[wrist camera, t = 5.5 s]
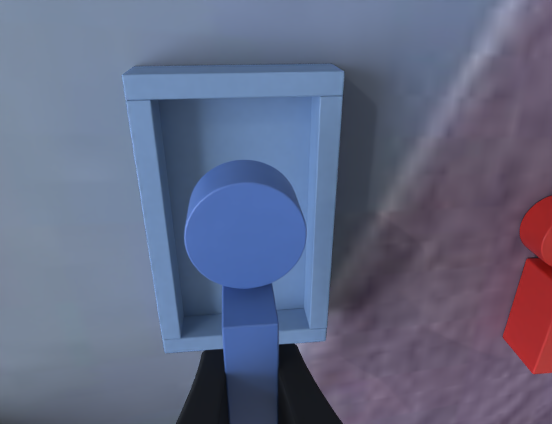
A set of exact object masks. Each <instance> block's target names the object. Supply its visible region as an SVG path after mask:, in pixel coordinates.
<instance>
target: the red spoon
mask: <svg viewBox="0 0 552 424" xmlns="http://www.w3.org/2000/svg"><path fill="white" fill-rule="evenodd" d="M520 238H521V241H522V243H523V244H524V245H525V246H526V247H527V248H528V249H529V250H531V251H532V252H533V253H534V254H535V255H537V256H538V257H539V258H528V259H526V262H525V266H524V269H523V272H522V275H521V279H520V282H519V285H518V288H517V292H516V295H515V298H514V301H513V305H512V308H511V311H510V314H509V318H508V321H507V324H506V327H505V331H504V334H503V338H504V340H505V341H506V342H507V343H508V344H509V346H510V347H511V348H512V349H513V351H514V352H515V353H516V354H517V355H518V357H519V358H520V359H521V360H522V361H523V363H524V364H525V365H526V366H527V368H528V369H529V370H530V371H531V372H532V373H533V374H542V373H552V196H549V197H546V198H544V199H542V200H541V201H539V202H538V203H536V204H535V205H534V206H533V207H532V208H531V209H530V210H529V211H528V212H527V213H526V215H525V216H524V218H523V220H522V223H521V226H520Z"/></svg>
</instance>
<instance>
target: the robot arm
mask: <svg viewBox="0 0 552 424" xmlns="http://www.w3.org/2000/svg"><path fill="white" fill-rule="evenodd" d="M176 424H229V415H228V401H227V386H226V373H225V367H224V353H223V349H213V350H205V351H204V352H203V353H202V355H201V360H200V364H199V367H198V370H197V374H196V376H195V379H194V382H193V385H192V388H191V390H190V393H189V395H188V397H187V400H186V402H185V405H184V407H183V409H182V412H181V414H180V416H179V418H178V420H177V422H176ZM278 424H343V423H342V422H341V420H340V419H339V418H338V416H337V415H336V413H335V412H334V410H333V409H332V407H331V406H330V405H329V403H328V401H327V400H326V398H325V397H324V395H323V394H322V392H321V390H320V389H319V387H318V386H317V384H316V382H315V381H314V379H313V377H312V375H311V373H310V372H309V370H308V368H307V366H306V364H305V362H304V360H303V358H302V356H301V354H300V352H299V349H298V347H297V345H295V344H294V343H290V344H279V368H278Z"/></svg>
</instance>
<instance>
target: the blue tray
mask: <svg viewBox="0 0 552 424" xmlns="http://www.w3.org/2000/svg"><path fill="white" fill-rule="evenodd" d="M344 76H345V72H344V71H343V70H341V69H340V68H338V67H336V66H334V65H333V64H264V65H191V66H134V67H132V68H131V69H130V70H128V71H127V72H125V73H124V74H123V75H122V80H123V87H124V93H125V99H126V100H127V101H126V106H127V112H128V119H129V126H130V132H131V139H132V145H133V152H134V158H135V165H136V171H137V178H138V184H139V191H140V197H141V204H142V210H143V217H144V223H145V230H146V237H147V243H148V250H149V256H150V263H151V269H152V276H153V282H154V289H155V295H156V302H157V308H158V315H159V321H160V328H161V334H162V339H163V346H164V352H165V353H178V352H191V351H204V350H213V349H223V339H222V285H220V284H218V283H215V282H213V281H211V280H210V279H208V278H207V277H205V276H204V275H203V274H202V273H200V272H199V271H198V269H197V268H196V267H195V266H194V265H193V263H192V262H191V260H190V258H189V256H188V254H187V251H186V248H185V242H184V231H185V224H186V219H187V213H188V207H189V201H190V197H191V194H192V192H193V190H194V188H195V186H196V184H197V183H198V181H199V180H200V179H201V178H202V177H203V176H204V175H205V174H206V173H207V172H209V171H210V170H211V169H213V168H215V167H217V166H219V165H221V164H223V163H226V162H230V161H234V160H254V161H259V162H262V163H265V164H267V165H270V166H272V167H273V168H275V169H277V170H278V171H279V172H281V173H282V174H283V175H284V176H285V177H286V178H287V179H288V181H289V182H290V184H291V185H292V187H293V189H294V191H295V194H296V197H297V199H298V202H299V205H300V208H301V210H302V213H303V216H304V219H305V222H306V227H307V239H306V244H305V248H304V251H303V253H302V256H301V257H300V259H299V261H298V262H297V263H296V265H295V266H294V267H293V268H292V269H291V270H290V271H289V272H288V273H287V274H286V275H284V276H283V277H282V278H280V279H278V280H277V281H275V282H273V283H272V285H273V291H274V297H275V303H276V309H277V315H278V321H279V344H290V343H294V344H295V343H308V342H321V341H326V333H327V322H328V308H329V293H330V279H331V264H332V250H333V235H334V221H335V206H336V192H337V178H338V163H339V149H340V134H341V120H342V105H343V96H342V95H343V90H344Z"/></svg>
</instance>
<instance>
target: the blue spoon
mask: <svg viewBox="0 0 552 424" xmlns="http://www.w3.org/2000/svg"><path fill="white" fill-rule="evenodd" d="M306 239H307V227H306V222H305V219H304V216H303V213H302V210H301V208H300V205H299V202H298V199H297V197H296V194H295V191H294V189H293V187H292V185H291V184H290V182H289V181H288V179H287V178H286V177H285V176H284V175H283V174H282V173H281V172H279V171H278V170H277V169H275V168H273V167H272V166H270V165H267V164H265V163H262V162H259V161H254V160H234V161H230V162H226V163H223V164H221V165H219V166H217V167H215V168H213V169H211V170H210V171H209V172H207V173H206V174H205V175H204V176H203V177H202V178H201V179H200V180H199V181H198V183H197V184H196V186H195V188H194V190H193V192H192V194H191V197H190V201H189V207H188V213H187V219H186V224H185V231H184V242H185V248H186V251H187V254H188V256H189V258H190V260H191V262H192V263H193V265H194V266H195V267H196V268H197V269H198V271H199V272H200V273H202V274H203V275H204V276H205V277H207V278H208V279H210V280H211V281H213V282H215V283H218V284H220V285H222V339H223V353H224V367H225V373H226V386H227V401H228V415H229V424H278V368H279V321H278V315H277V309H276V303H275V297H274V291H273V285H272V283H273V282H275V281H277V280H278V279H280V278H282V277H283V276H284V275H286V274H287V273H288V272H289V271H290V270H291V269H292V268H293V267H294V266H295V265H296V263H297V262H298V261H299V259H300V257H301V256H302V253H303V251H304V248H305V244H306Z"/></svg>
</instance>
